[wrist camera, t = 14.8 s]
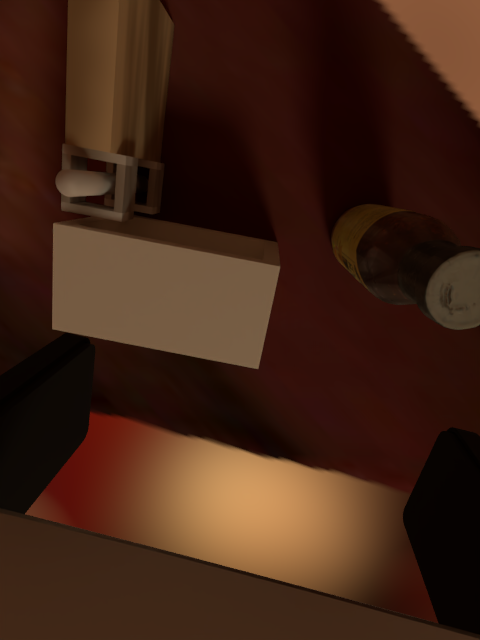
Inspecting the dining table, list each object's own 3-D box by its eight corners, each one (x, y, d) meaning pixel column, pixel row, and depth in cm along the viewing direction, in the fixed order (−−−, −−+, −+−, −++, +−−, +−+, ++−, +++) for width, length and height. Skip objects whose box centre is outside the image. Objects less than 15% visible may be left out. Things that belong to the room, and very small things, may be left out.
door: (182, 26, 32) (135, -59, 21) (162, 211, 38) (116, 223, 26) (131, 16, 33) (57, -74, 21) (118, 203, 38) (53, 211, 26)
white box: (285, 202, 36) (294, 212, 23) (261, 317, 40) (257, 381, 27) (120, 171, 37) (36, 163, 23) (112, 289, 41) (37, 338, 27)
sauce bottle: (318, 255, 38) (365, 324, 19) (346, 192, 36) (428, 200, 17) (379, 278, 38) (484, 368, 19) (410, 217, 36) (560, 252, 17)
